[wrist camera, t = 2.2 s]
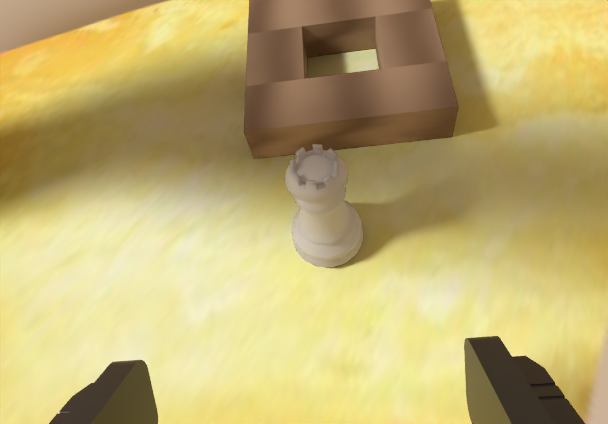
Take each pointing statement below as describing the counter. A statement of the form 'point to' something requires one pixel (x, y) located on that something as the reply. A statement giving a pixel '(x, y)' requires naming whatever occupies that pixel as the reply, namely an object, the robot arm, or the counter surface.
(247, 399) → the counter surface
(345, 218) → the rook chess piece
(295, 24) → the socket board
